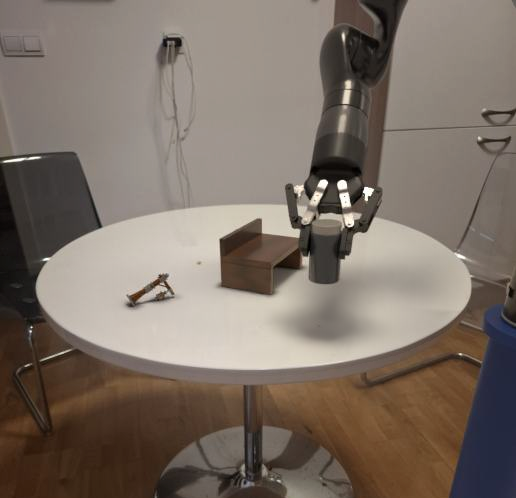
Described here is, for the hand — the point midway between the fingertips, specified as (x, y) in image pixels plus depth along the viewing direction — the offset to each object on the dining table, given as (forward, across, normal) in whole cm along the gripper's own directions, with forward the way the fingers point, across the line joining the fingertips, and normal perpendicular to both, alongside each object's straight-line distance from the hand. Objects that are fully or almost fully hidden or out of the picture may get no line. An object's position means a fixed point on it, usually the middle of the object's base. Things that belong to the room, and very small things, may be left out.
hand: (323, 255), depth 66 cm
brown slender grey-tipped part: (+4, -31, +14) cm, 34 cm away
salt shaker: (+2, 0, +4) cm, 5 cm away
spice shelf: (-8, -15, +26) cm, 31 cm away
